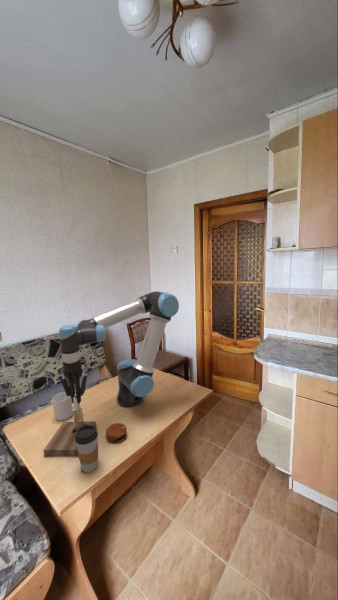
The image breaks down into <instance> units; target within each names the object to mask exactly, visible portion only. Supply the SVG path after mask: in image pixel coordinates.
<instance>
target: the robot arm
mask: <svg viewBox="0 0 338 600" xmlns="http://www.w3.org/2000/svg"><path fill="white" fill-rule="evenodd" d="M179 307H180V303H179V301H178V298H177V296H175V295H174V294H171V293H169V292H163V291H162V292H161V291H151V292H149V293H146V294H143V295H142V296H139V297H137V298H136V299H135V300H134V301H132V302H128V303H127V304H124V305H122V306H119V307H116V308H114V309H112V310H109V311H106V312H104V313H102V314H100V315H97V316H94V317H93V318H89V319H82V320H80V321H78V323H77V324H66V325H63V326H61V327H60V328H59V329H58V333H59V343H60V351H61V361H62V368H63V371H62V372H63V373H61V374H60V375H59V376H58V380H59V381H60V383H61V385H62V387H63V390H64V392H65V393H66V395H67V396H70V397H71V400H72V405H73V406H74V409H73V411H74V410H75V411H78V410H79V409H80V408H81V403H82V397H83V395H84V394H85V391H86V385H87V379H88V377H89V376H90V375H89V373H85V372H84V370H83V368H82V367H83V366H82V359H81V349H80V347H81V346H84V345H91V344H94V343H99V342H103V341H104V342H105V340H106V339H107V329H108V328H110V327H112V326H114V325H118V324H119V323H121V322H124V321H126V320H129V319H131V318H133V317H136V316H139V315H140V314H142V315H145V314H146V313H147V314H148V313H149V314H148V315H149V317H150V320H149V322H148V325H147V330H146V333H145V335H144V338H143V341H142V345H141V347H140V350H139V354H138V356H137V359H124V360H122V361H120V362H118V363H117V365H116V367H117V369H116V370H117V377H118V379H117V380H118V390H117V396H116V403H117V405H118V406H120V407H122V408H133V407H137V406H138V405H140V404H141V403H142V402H143V401H144V399H145V397H146V396H147V395H150V393H151V392H152V391H153V389H154V387H155V381H154V379H153V375H154V372H155V371H154V369H153V365H154V363H155V360H156V357H157V354H158V350H159V347H160V345H161V342H162V338H163V337H164V336H163V335H164V333H165V329H166V325H167V324H168V323H169V322H171V321H172V317H174V316H175V315H177V314H178V312H179ZM81 379H82V380H81ZM80 380H81V381H80ZM75 394H76V395H75Z"/></svg>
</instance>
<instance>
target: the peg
mask: <svg viewBox="0 0 338 600" xmlns="http://www.w3.org/2000/svg"><path fill="white" fill-rule="evenodd" d="M72 416H73V422H74V424H75V431H76V432H77V430H78V429H79V428H81V427H83V426H84V413H83V408H81V407H80V409H79V410H78V411H75V410H74V409H73V414H72Z"/></svg>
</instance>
